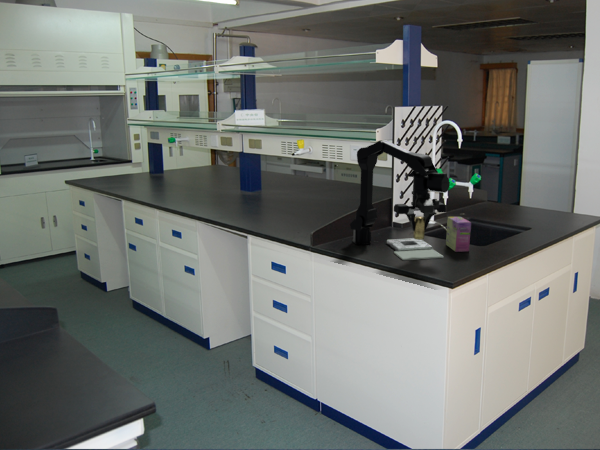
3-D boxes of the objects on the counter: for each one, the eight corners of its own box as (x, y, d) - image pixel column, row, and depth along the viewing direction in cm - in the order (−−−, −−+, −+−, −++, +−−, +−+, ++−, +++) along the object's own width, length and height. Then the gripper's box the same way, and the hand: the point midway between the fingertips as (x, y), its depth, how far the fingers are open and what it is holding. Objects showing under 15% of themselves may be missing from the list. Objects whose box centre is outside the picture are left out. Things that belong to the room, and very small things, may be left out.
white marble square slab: (398, 252, 203) (398, 248, 202) (386, 243, 216) (386, 239, 216) (432, 250, 205) (432, 246, 204) (418, 241, 218) (418, 237, 218)
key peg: (415, 239, 194) (416, 218, 193) (411, 237, 198) (412, 216, 197) (425, 239, 195) (426, 218, 193) (421, 236, 199) (422, 216, 197)
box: (469, 251, 202) (471, 221, 200) (455, 252, 202) (456, 222, 199) (459, 244, 213) (461, 216, 210) (445, 245, 212) (447, 216, 209)
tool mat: (402, 260, 192) (402, 258, 192) (393, 252, 202) (393, 251, 202) (443, 257, 195) (443, 256, 194) (432, 250, 204) (432, 249, 204)
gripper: (404, 194, 183) (402, 237, 187) (454, 192, 186) (451, 234, 190) (393, 189, 194) (392, 229, 198) (441, 187, 197) (439, 227, 200)
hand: (419, 230), depth 196 cm, fingers closed on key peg, 4 cm apart
